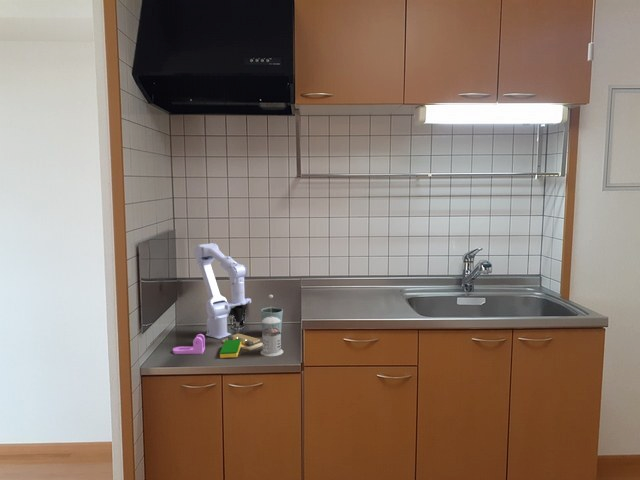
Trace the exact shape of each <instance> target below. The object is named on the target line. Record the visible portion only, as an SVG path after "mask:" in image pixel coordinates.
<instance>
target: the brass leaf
mask: <svg viewBox="0 0 640 480" xmlns="http://www.w3.org/2000/svg"><path fill="white" fill-rule="evenodd" d="M231 336H234V337H233V338H232V340H236V339H237V338H242V340H241V343H242V344H245V342H246V340H249V341H252V342H253V343H256V342H259V341H260V342H261V339H260V338H257V337H253V336H249V335H245V334H243V333H236V334H233V335H232V334H231Z"/></svg>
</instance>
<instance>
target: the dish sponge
mask: <svg viewBox="0 0 640 480" xmlns="http://www.w3.org/2000/svg"><path fill="white" fill-rule="evenodd" d="M224 340H225V339H224ZM222 344H223V345H222V347H221V349H220V352H219V358H220V359H226V358H228V359H229V358H238V356H239V353H240V350H241V349H242V348H241V345H242V344H241V340H225V342H224V343H222Z"/></svg>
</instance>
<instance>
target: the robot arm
mask: <svg viewBox="0 0 640 480" xmlns="http://www.w3.org/2000/svg"><path fill="white" fill-rule="evenodd" d="M193 251H194V252H193V255H194V258H195V260H196V264H198V266H199V270H200V273H201V275H202V279H203V282H204V285H205V288H206V291H207V295H208V298H209V299H208V300H207V301H206V303H205V307H206V314H207V316H208V317H207V319H206V334H205V336H208V337H211V338H213V339H218V340H220V339H223V338H225V337H228V336H229V335H231V336H232V333H230V332H228V321H227V320H228V318H227V317H228V316H229V314H230V313H231V312H232V313H233V315H234V319H235V322H236V323H242V320H243V317H244V313H245V310H246V309H247V306H246V304H251V303H252V298H249V297H248V298H245V296H246V295H245V277H246V276H247V275H248V274H247V273H248V270H247V266H246V265H245V264H243V263H241V264H240V263H238V262H237V261H235V260H234V259H233V258H232V256H226V255H225V254H224V253H223V252H221V250H220V249H219V245H218V244H216V242H211V243H201V244H196V245H195V247H194V250H193ZM215 260H216V261H218V262H219V265H220V266H221V268H222V269H224V270H225V271H226V272H227V274H228V276H229V277H228V278H229V282H230V286H231V287H230V289H231V290H230V291H231V292H230V294H231V301H230V302H228V300H227V298H226V297H225V296H223V295H221V293H220V290H219V286H218V283H217V281H216V276H215V274H214V271H213V270H214V269H213V268H212V263H213V262H214V261H215Z"/></svg>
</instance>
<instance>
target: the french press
mask: <svg viewBox="0 0 640 480" xmlns="http://www.w3.org/2000/svg"><path fill="white" fill-rule="evenodd" d="M268 298H269V299H272V298H274V295H273V294H269V295H268ZM280 322H281V320H280V319H278V318H276V317H267V318H264V319H263V320H262V319H261V324H262V323H264V324H268V325H270V328H265V329H264V330H263V329H262V333H261V335H262V337H261V339H262V341H261V343H262V346H261V347H262V350H260V353H259V354H261V356H265V357H275V356H276V357H277V356H281V355H282V354H283V353H284V350H283V349H282V339H281V338H282V335H281V334H282V332H281V333H280V332H279V331H280V329H279V328H272V325H273V324H278V323H280ZM269 333H270V334H271V336H269ZM277 334H280V335H277Z"/></svg>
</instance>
